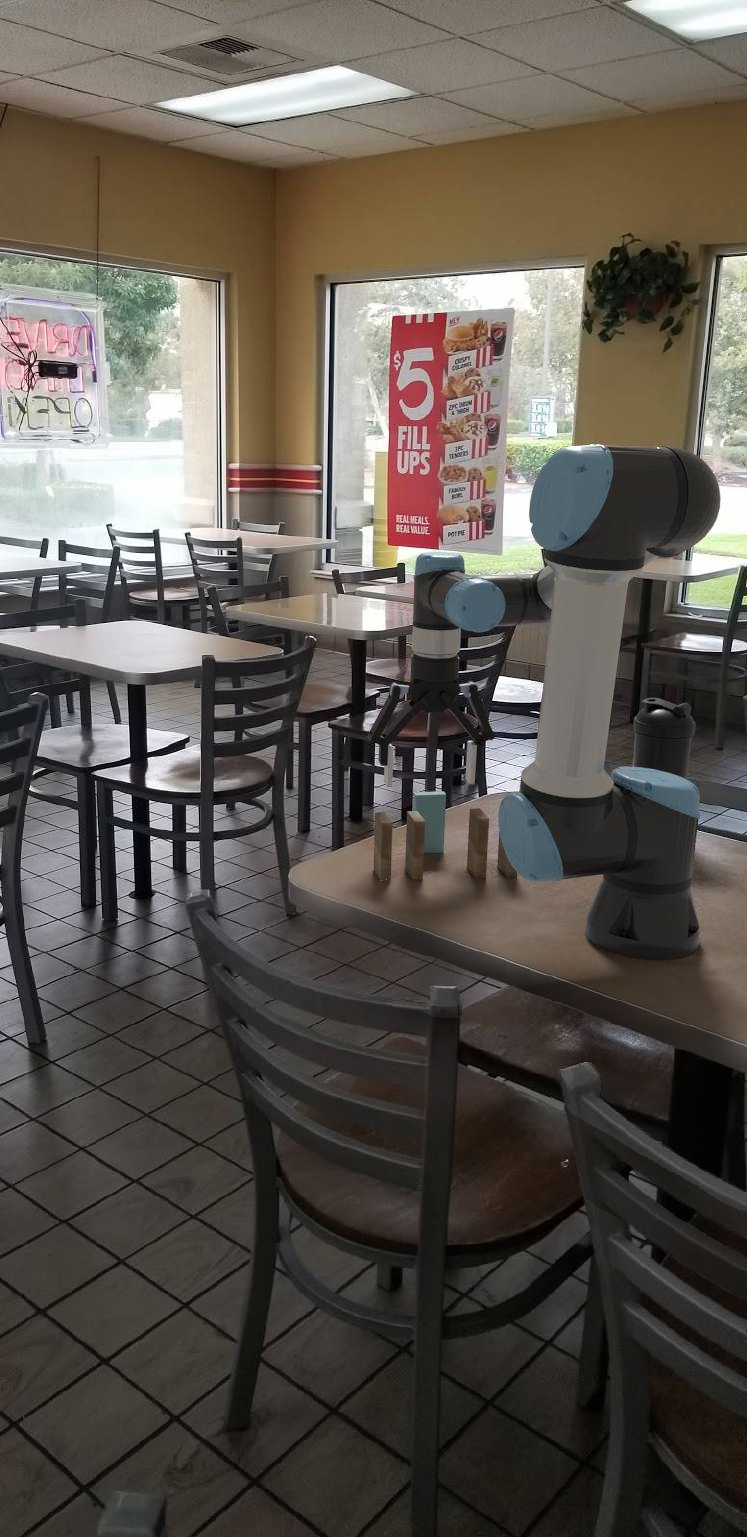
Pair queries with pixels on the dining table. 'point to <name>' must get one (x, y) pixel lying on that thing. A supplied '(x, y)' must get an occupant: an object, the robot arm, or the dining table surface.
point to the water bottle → (663, 736)
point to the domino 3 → (432, 818)
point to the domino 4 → (477, 843)
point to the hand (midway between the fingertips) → (429, 783)
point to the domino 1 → (382, 846)
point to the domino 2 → (415, 845)
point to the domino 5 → (504, 862)
